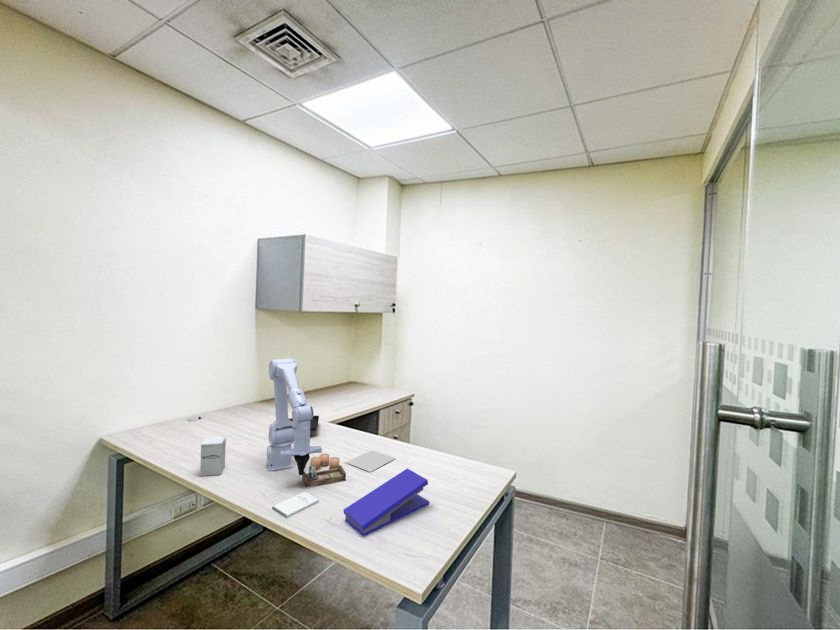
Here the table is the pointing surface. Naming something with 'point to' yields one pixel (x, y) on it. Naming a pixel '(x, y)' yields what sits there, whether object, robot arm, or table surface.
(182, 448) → the table surface
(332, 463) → the peach domed cylinder
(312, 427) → the tray
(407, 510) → the stapler
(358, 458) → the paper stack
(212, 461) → the supplement box
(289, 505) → the external hard drive
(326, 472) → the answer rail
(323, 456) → the peach rounded cylinder
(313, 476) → the slider
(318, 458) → the peach domed capsule
